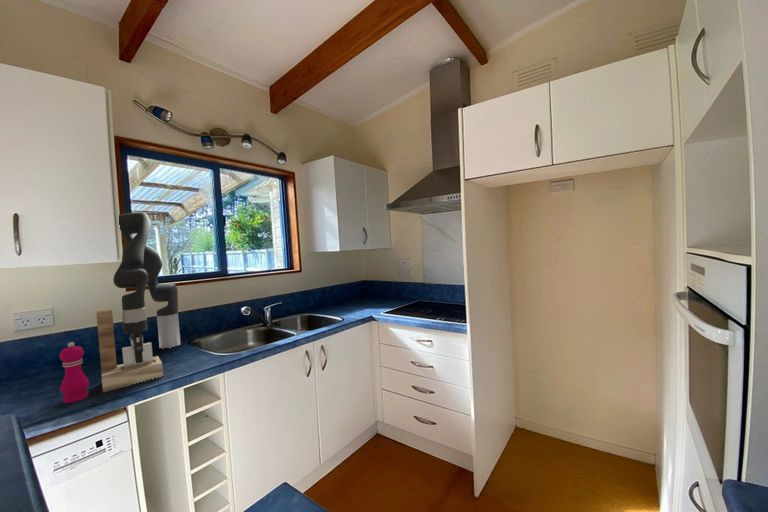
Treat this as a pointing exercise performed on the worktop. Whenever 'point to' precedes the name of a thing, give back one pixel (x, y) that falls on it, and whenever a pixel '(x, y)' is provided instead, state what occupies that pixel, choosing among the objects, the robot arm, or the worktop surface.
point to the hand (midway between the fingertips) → (138, 360)
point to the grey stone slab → (130, 356)
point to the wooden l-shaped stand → (112, 372)
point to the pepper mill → (73, 374)
